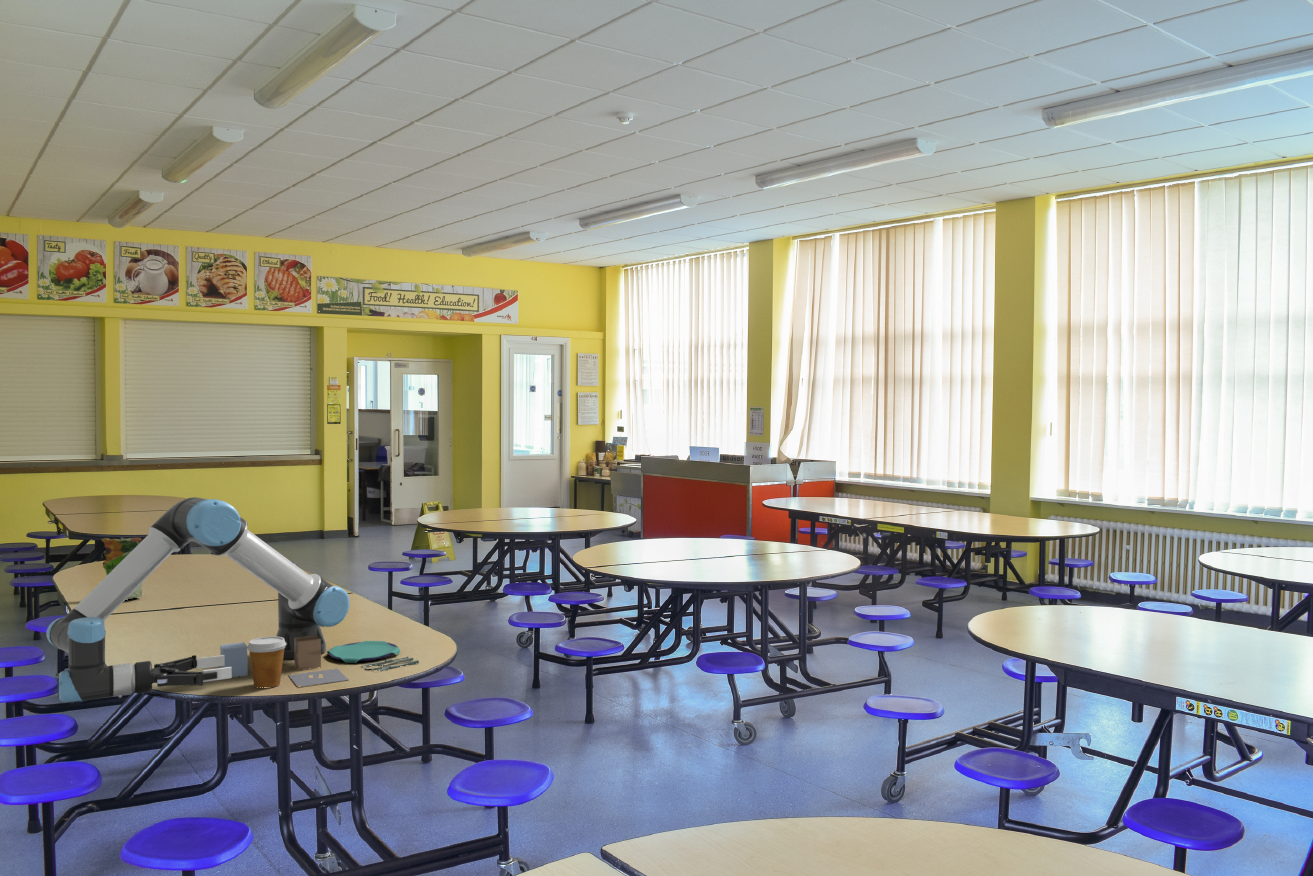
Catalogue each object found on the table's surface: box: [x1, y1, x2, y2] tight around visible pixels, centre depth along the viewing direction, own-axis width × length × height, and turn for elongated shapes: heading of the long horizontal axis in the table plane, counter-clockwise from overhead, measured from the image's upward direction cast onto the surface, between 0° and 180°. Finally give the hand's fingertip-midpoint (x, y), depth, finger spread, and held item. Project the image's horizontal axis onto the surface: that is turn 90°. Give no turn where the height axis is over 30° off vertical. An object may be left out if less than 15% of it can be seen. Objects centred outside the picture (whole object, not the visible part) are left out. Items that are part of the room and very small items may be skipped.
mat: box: [288, 668, 349, 688], centre depth 248 cm, size 13×13×1 cm
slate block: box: [219, 641, 248, 678], centre depth 252 cm, size 6×6×8 cm
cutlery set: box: [326, 640, 420, 672], centre depth 269 cm, size 20×30×2 cm, turn 42°
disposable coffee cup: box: [246, 636, 286, 689], centre depth 241 cm, size 10×10×12 cm
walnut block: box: [294, 635, 322, 671], centre depth 260 cm, size 6×6×8 cm
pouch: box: [101, 536, 143, 601], centre depth 352 cm, size 11×12×25 cm
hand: (228, 666), depth 236 cm, fingers open, 13 cm apart
